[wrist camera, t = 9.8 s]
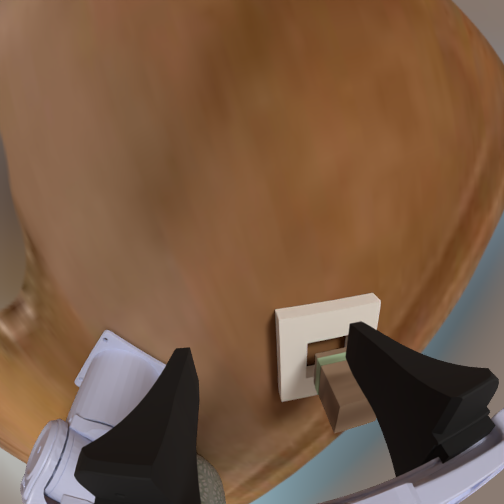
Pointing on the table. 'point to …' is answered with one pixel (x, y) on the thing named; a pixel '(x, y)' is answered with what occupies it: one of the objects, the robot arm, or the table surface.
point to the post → (340, 391)
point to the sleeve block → (315, 337)
